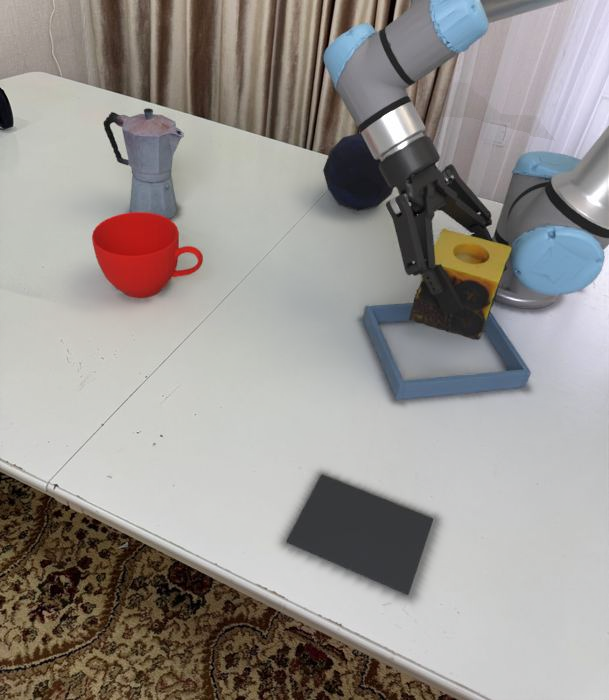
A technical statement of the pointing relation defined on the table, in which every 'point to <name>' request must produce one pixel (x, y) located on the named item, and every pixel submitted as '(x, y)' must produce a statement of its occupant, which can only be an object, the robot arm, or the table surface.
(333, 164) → the decorative orb
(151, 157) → the moka pot
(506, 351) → the blue open square frame
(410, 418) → the table surface
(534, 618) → the table surface
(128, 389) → the table surface
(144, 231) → the ceramic cup
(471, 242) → the candle
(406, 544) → the mat
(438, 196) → the robot arm
